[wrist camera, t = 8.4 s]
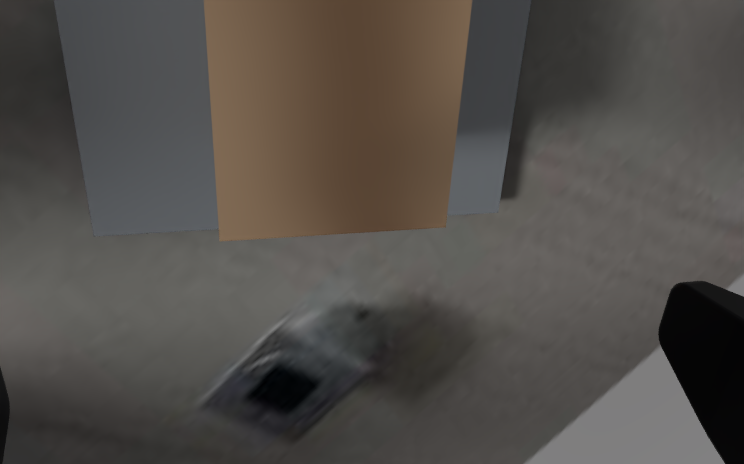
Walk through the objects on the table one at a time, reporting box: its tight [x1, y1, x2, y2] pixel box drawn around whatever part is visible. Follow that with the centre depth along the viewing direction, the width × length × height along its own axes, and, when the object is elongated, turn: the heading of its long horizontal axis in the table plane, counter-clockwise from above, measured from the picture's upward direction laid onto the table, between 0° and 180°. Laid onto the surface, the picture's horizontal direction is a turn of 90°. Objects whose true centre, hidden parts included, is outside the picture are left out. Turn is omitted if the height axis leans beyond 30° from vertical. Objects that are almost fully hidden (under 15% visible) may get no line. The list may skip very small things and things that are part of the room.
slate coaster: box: [54, 0, 531, 236], centre depth 19 cm, size 12×10×1 cm
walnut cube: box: [204, 0, 472, 241], centre depth 16 cm, size 5×5×5 cm
